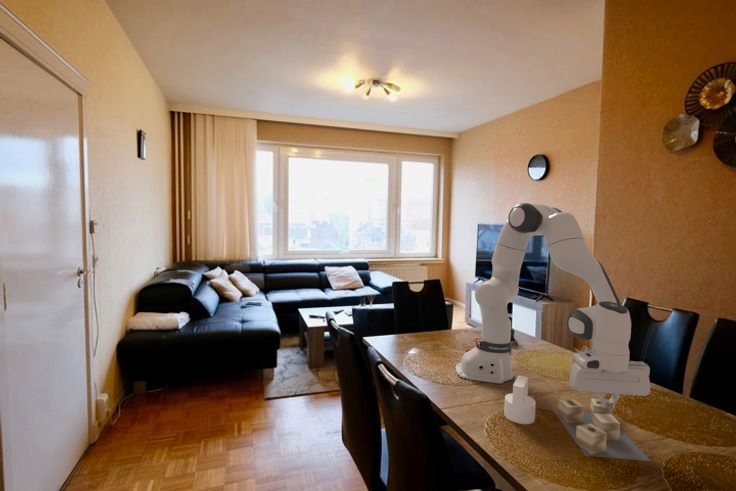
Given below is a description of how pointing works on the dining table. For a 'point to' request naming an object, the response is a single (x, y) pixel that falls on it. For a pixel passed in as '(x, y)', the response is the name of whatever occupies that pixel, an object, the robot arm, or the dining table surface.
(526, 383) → the cylinder with rectangular tab
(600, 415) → the plain block
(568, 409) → the marked block
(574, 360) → the lighter
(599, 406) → the marked block
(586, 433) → the marked block
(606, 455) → the mat
